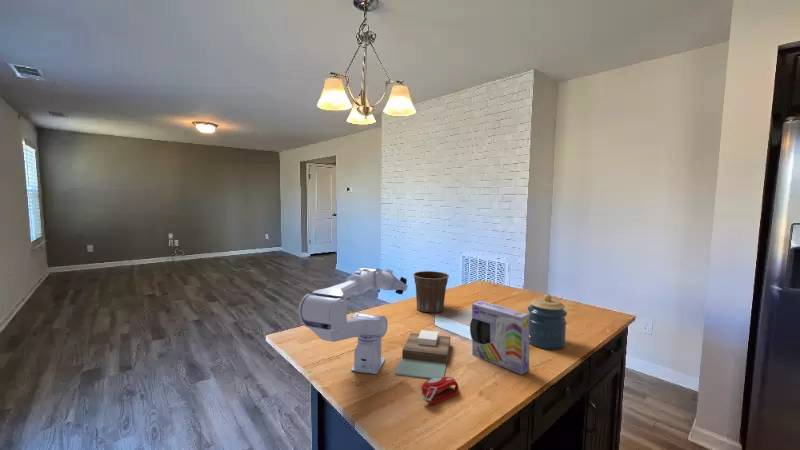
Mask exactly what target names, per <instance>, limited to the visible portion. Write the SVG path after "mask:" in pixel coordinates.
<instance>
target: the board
mask: <svg viewBox="0 0 800 450" xmlns="http://www.w3.org/2000/svg"><path fill="white" fill-rule="evenodd" d="M419 335H420V333H415V332H410V334H409V336H408V337H407V340H406V341H405V344H404V346H403V347H402V352H401V353H402V354H401V355H402V356H401V357H402V358H403V359H412V360H420V361H428V362H437V363H445V364H446V365H447V363H448V358H449V352H450V348H451V336H447V335H446V336H445V335H438V341H437V344H436V346H432V345H423V344H418V337H419ZM402 358H401V359H402Z"/></svg>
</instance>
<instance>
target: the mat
mask: <svg viewBox="0 0 800 450" xmlns="http://www.w3.org/2000/svg"><path fill="white" fill-rule="evenodd" d="M446 369H447V364H445V363H437V362H428V361H420V360H412V359H403V358H401V360H400V362H399V363H398V365H397V368H396V370H395V373H394V375H397V376H403V377H405V376H406V377H410V378H411V377H413V378H418V379H426V380H430V379H432V378H436V377H445V374H446Z"/></svg>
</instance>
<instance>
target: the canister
mask: <svg viewBox="0 0 800 450" xmlns="http://www.w3.org/2000/svg"><path fill="white" fill-rule="evenodd" d="M565 308H566V306H565V304H564V303H562V302H561V300H558V299H555V298H553V297H552V295H550V294H549V293H548V294H547V293H545V294H544V296H543V297H542V296H541V297H536V298H534V299H532V300H530V305H528V306H527V310H528V314H529V335H530V336H531V337H530V339H529V341H530V343H529V345H532V346H534V347H537V348H540V349H543V350H544V349H545V350H551V351H554V350H556V351H557V350H562V349H564V347H565V344H566V340H567V339H566V329H567V321H566V316H568V312H567V310H565Z"/></svg>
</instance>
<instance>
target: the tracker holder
mask: <svg viewBox="0 0 800 450" xmlns="http://www.w3.org/2000/svg"><path fill="white" fill-rule="evenodd" d="M452 386H454V389H453V390H451V391H450V392H448V393H445V394H442V395H441V396H438V397H437V398H435V397H436V394H439V393H441V392H443V391H444V390H447V389H448V388H450V387H452ZM420 387H421V388H420V389H421V390H422V392H423V393H425V394H424V396H423V398H422V400H423V401H426V402H427V403H428V404H438V403H441V402H444V401H446V400H448V399H450V398H452V397H454V396H456V395H457V394H458V392H459V384H458V382H457V380H456V379H455V378H454V377H452V376H444V377H436V378H432V379H427V381H424V382H423V383H422V385H421V386H420ZM433 398H435V399H433Z"/></svg>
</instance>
